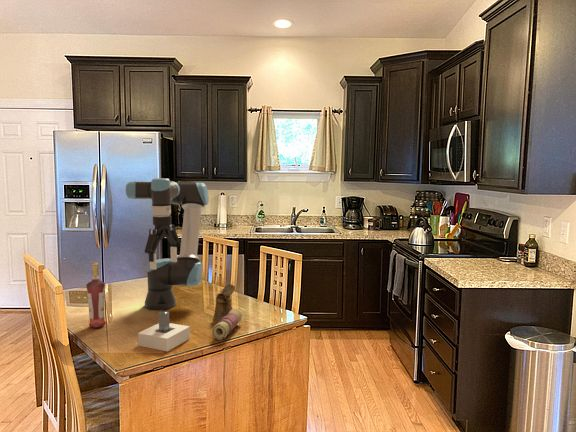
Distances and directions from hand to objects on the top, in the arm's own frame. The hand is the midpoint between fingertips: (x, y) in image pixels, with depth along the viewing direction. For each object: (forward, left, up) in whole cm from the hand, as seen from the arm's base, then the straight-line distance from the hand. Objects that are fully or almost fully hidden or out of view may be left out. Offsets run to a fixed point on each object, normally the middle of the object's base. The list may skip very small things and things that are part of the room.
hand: (163, 265), depth 184 cm
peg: (+10, -12, -28) cm, 32 cm away
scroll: (+26, +7, -28) cm, 39 cm away
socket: (+10, -12, -28) cm, 32 cm away
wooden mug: (+18, +20, -28) cm, 38 cm away
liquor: (-28, -10, -28) cm, 41 cm away
